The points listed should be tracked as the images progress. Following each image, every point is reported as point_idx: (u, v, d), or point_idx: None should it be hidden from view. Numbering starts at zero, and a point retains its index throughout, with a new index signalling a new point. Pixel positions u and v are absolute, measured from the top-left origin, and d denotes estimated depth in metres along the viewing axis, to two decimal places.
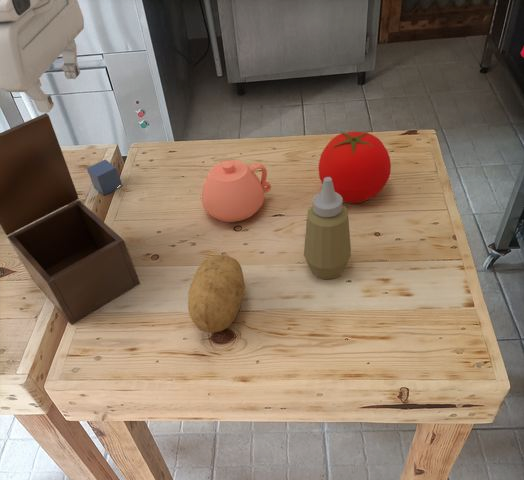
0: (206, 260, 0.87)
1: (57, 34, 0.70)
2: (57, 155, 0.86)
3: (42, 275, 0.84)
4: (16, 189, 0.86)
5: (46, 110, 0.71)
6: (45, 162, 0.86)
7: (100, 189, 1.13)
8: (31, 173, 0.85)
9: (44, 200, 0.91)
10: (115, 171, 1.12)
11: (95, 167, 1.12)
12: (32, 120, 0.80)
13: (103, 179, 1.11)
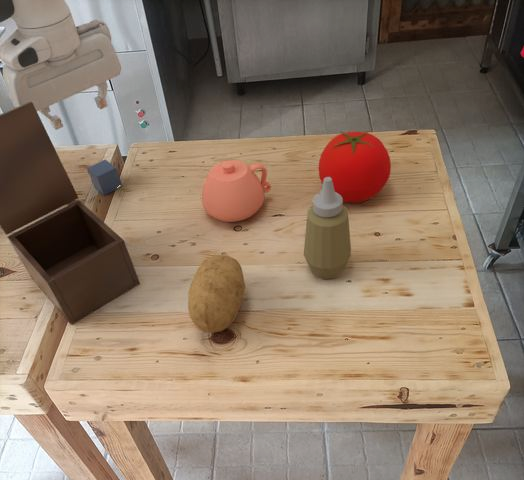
0: (206, 260, 0.87)
1: (79, 78, 0.93)
2: (47, 146, 0.88)
3: (42, 275, 0.84)
4: (9, 182, 0.87)
5: (55, 128, 0.96)
6: (36, 154, 0.88)
7: (100, 189, 1.13)
8: (23, 165, 0.87)
9: (41, 197, 0.91)
10: (115, 171, 1.12)
11: (95, 167, 1.12)
12: (16, 107, 0.83)
13: (103, 179, 1.11)
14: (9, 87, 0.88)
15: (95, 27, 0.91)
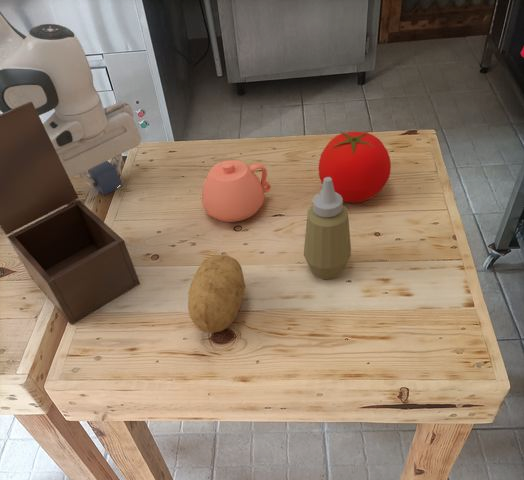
0: (206, 260, 0.87)
1: (105, 150, 1.08)
2: (47, 146, 0.88)
3: (42, 275, 0.84)
4: (9, 182, 0.87)
5: (91, 187, 1.12)
6: (36, 154, 0.88)
7: (100, 189, 1.13)
8: (23, 165, 0.87)
9: (41, 197, 0.91)
10: (115, 171, 1.12)
11: (95, 167, 1.12)
12: (16, 107, 0.83)
13: (103, 179, 1.11)
14: None
15: (120, 107, 1.06)
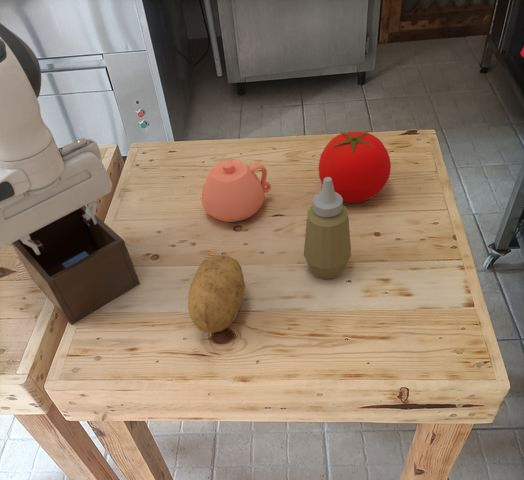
0: (206, 260, 0.87)
1: (63, 202, 0.81)
2: None
3: (42, 275, 0.84)
4: None
5: (36, 253, 0.85)
6: None
7: None
8: None
9: None
10: None
11: (72, 263, 0.92)
12: None
13: None
14: None
15: (82, 146, 0.80)
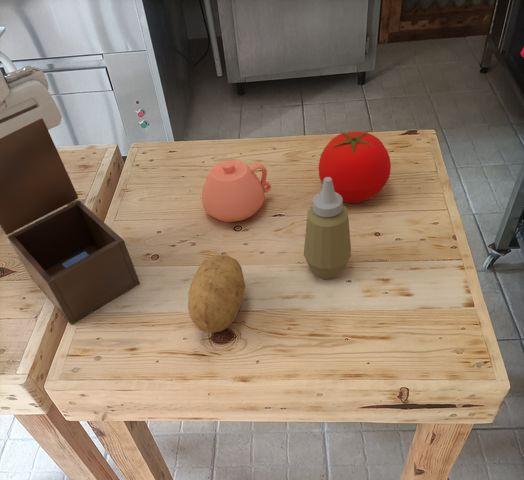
0: (206, 260, 0.87)
1: (11, 131, 0.82)
2: (50, 148, 0.87)
3: (42, 275, 0.84)
4: (11, 183, 0.86)
5: None
6: (38, 156, 0.87)
7: None
8: (25, 167, 0.86)
9: (42, 198, 0.91)
10: None
11: (72, 263, 0.92)
12: None
13: None
14: None
15: (28, 74, 0.81)
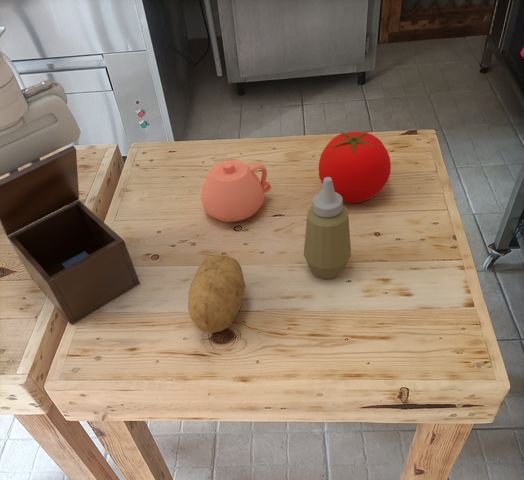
0: (206, 260, 0.87)
1: (28, 147, 0.79)
2: (72, 174, 0.86)
3: (42, 275, 0.84)
4: (27, 204, 0.85)
5: None
6: (60, 181, 0.85)
7: None
8: (45, 191, 0.85)
9: (49, 206, 0.91)
10: None
11: (72, 263, 0.92)
12: (59, 154, 0.79)
13: None
14: None
15: (47, 88, 0.78)
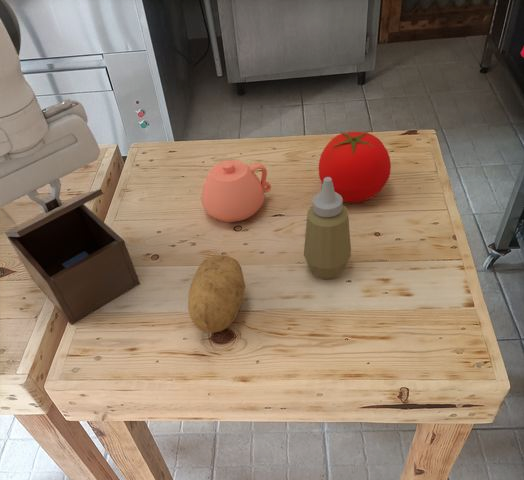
0: (206, 260, 0.87)
1: (48, 168, 0.77)
2: None
3: (42, 275, 0.84)
4: None
5: (44, 211, 0.82)
6: None
7: None
8: None
9: None
10: None
11: (72, 263, 0.92)
12: (87, 198, 0.80)
13: None
14: None
15: (67, 108, 0.75)
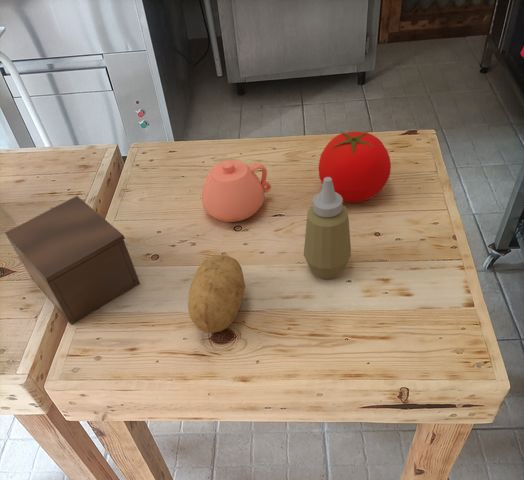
0: (206, 260, 0.87)
1: None
2: None
3: None
4: None
5: None
6: None
7: None
8: None
9: None
10: None
11: None
12: (110, 244, 0.85)
13: None
14: None
15: None
